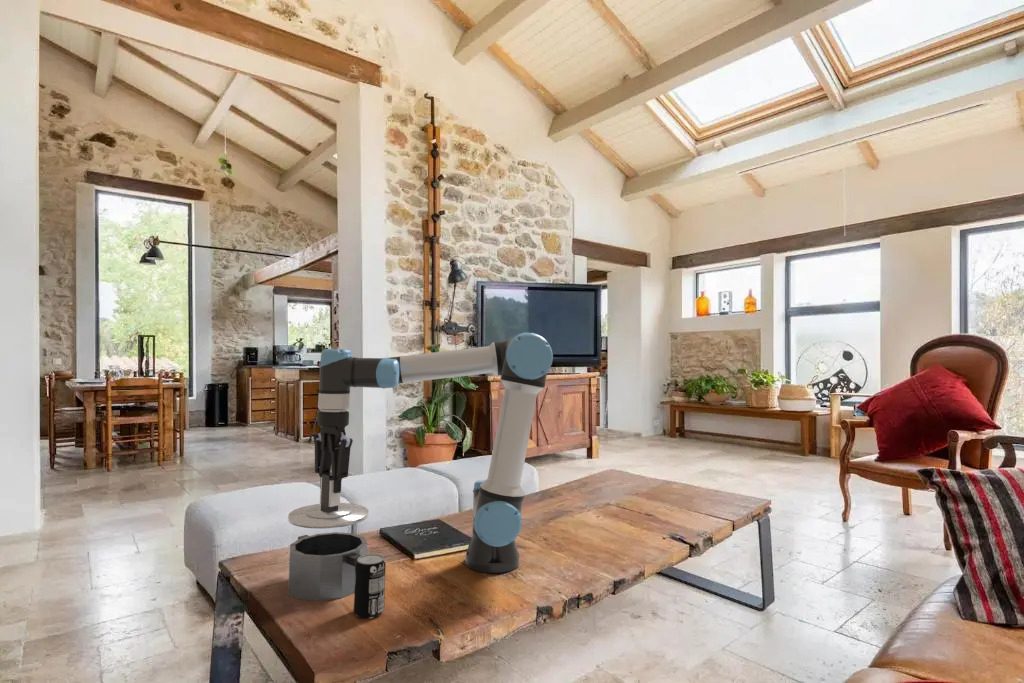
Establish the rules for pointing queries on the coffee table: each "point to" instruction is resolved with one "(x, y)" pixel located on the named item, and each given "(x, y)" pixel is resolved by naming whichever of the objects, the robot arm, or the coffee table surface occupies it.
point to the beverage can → (369, 586)
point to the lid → (327, 512)
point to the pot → (324, 565)
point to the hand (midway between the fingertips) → (329, 504)
